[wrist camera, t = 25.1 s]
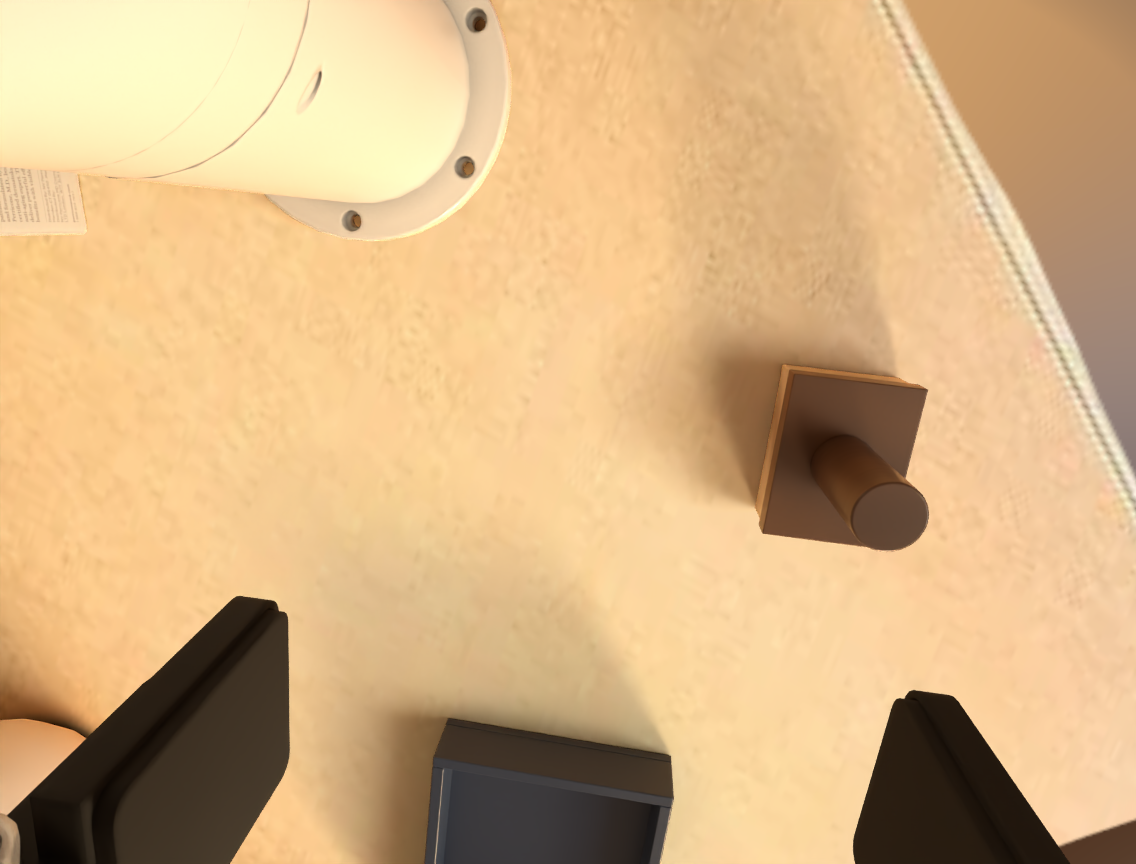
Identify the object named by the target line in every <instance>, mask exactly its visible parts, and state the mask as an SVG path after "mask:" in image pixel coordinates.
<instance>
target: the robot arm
mask: <svg viewBox="0 0 1136 864" xmlns="http://www.w3.org/2000/svg"><path fill="white" fill-rule="evenodd" d="M481 19H482V20H485V24H486V25H485V28H484V29H483V30H482V31H476V30H475V23H476V22H477V21H478V20H481ZM510 107H511V67H510V61H509V55H508V49H507V43H506V39H505V36H504V33H503V30H502V28H501V25H500V22H499V19H498V16H497V13H496V10H495V8H494V7H493V5H492V3H491V1H490V0H0V167H8V168H21V169H34V170H45V171H57V172H67V173H77V174H87V175H97V176H105V177H109V178H116V179H126V180H136V181H145V182H155V183H165V184H174V185H184V186H194V187H203V188H213V189H223V190H232V191H242V192H252V193H262V194H264V195H265V196H266V197H267V198H268V199H269V200H270V201H271V202H272V203H273V204H275V205H276V206H277V207H279V208H280V209H281V210H283V211H284V212H285V213H287V214H288V215H289V216H291V217H292V218H293V219H295V220H297V221H299V222H301V223H303V224H305V225H307V226H309V227H311V228H313V229H315V230H317V231H319V232H322V233H326V234H329V235H333V236H336V237H340V238H343V239H352V240H364V241H382V240H393V239H397V238H402V237H406V236H411V235H415V234H418V233H420V232H422V231H424V230H427V229H429V228H431V227H433V226H435V225H437V224H440V223H441V222H443V221H444V220H445V219H447V218H448V217H449V216H451V215H452V214H453V213H455V212H456V211H457V210H459V209H460V208H461V207H462V206H463V205H464V204H465V203H466V202H467V201H468V200H469V199H470V198H471V197H472V195H473V194H474V193H475V192H476V191H477V190H478V189H479V188H480V187H481V185H482V183H483V182H484V180H485V178H486V177H487V175H488V173H489V172H490V170H491V168H492V167H493V165H494V163H495V161H496V159H497V156H498V153H499V151H500V148H501V145H502V143H503V140H504V137H505V135H506V129H507V124H508V118H509V113H510ZM470 162H471V163H472V164H473V166H474V171H473V173H472V174H470V175H466V173H465V172H464V166H465V165H466V164H467V163H470ZM357 215H358V216H360V218H361V225H360V227H357V226H356V225H355V223H354V219H355V217H356V216H357ZM289 752H290V742H289V653H288V616H287V614H286V613H285V612H281V611H279V610H278V606H277V603H276V602H275V601H272V600H265V599H258V598H251V597H243V596H237V597H235V598H233V599H232V600H231V601H230V602H229V603H228V604H227V605H226V606H225V607H224V608H223V609H222V610H221V611H220V612H219V613H217V614H216V615H215V616H214V617H213V618H212V619H211V620H210V621H209V622H208V623H207V624H206V625H205V626H204V627H203V628H202V629H201V630H200V631H199V632H198V633H197V634H196V635H195V636H194V637H193V638H192V639H191V640H190V641H189V642H188V643H187V644H186V645H185V646H183V647H182V648H181V649H180V650H179V651H178V652H177V653H176V654H175V655H174V656H173V657H172V658H171V659H170V660H169V661H168V662H167V663H166V664H165V665H164V666H163V667H162V668H161V669H160V670H159V671H158V672H157V673H156V674H155V675H154V676H153V677H151V678H150V679H149V680H147V681H146V682H145V683H143V684H142V685H141V686H140V687H139V688H138V689H137V690H136V691H135V692H134V693H133V694H132V695H131V696H130V697H129V698H128V699H127V700H126V701H125V702H124V703H123V704H122V705H121V706H120V707H118V708H117V709H116V710H115V711H114V712H113V713H112V714H111V715H110V716H109V717H108V718H107V719H106V720H105V721H104V722H103V723H102V724H101V725H100V726H99V727H98V728H97V729H96V730H95V731H94V732H93V733H92V734H91V735H89V736H88V737H87V738H86V739H85V740H84V741H83V742H82V743H81V744H80V745H79V746H78V747H77V748H76V749H75V750H74V751H73V752H72V753H71V754H70V755H69V756H68V757H67V758H66V759H65V760H64V761H63V762H62V763H61V764H59V765H58V766H57V767H56V768H55V769H54V770H53V771H52V772H51V773H50V774H49V775H48V776H47V777H46V778H45V779H44V780H43V781H42V782H41V783H40V784H39V785H38V786H37V787H36V788H35V789H34V790H33V791H32V792H31V793H29V794H28V795H27V796H26V797H25V798H24V799H23V800H22V801H21V802H20V803H19V804H18V805H17V806H16V807H15V808H14V809H13V810H12V811H11V812H10V813H9V814H8V815H5V814H2V813H0V864H230V862H231V861H232V859H233V858H234V856H235V854H236V853H237V851H238V849H239V848H240V846H241V845H242V843H243V841H244V840H245V838H246V836H247V835H248V833H249V831H250V830H251V828H252V827H253V825H254V823H255V822H256V820H257V818H258V817H259V815H260V813H261V812H262V810H263V809H264V807H265V805H266V804H267V802H268V800H269V799H270V797H271V796H272V794H273V792H274V791H275V789H276V787H277V786H278V784H279V782H280V781H281V779H282V777H283V775H284V773H285V770H286V767H287V764H288V760H289ZM853 854H854V860H855V864H1070V863H1069V861H1068V860H1067V858H1066V857H1065V855H1064V854H1063V853H1062V851H1061V850H1060V848H1059V847H1058V845H1057V844H1056V842H1055V841H1054V839H1053V838H1052V837H1051V835H1050V834H1049V832H1048V831H1047V829H1046V828H1045V826H1044V825H1043V824H1042V822H1041V821H1040V819H1039V818H1038V816H1037V815H1036V813H1035V812H1034V811H1033V809H1032V808H1031V806H1030V805H1029V803H1028V802H1027V800H1026V799H1025V797H1024V796H1023V795H1022V793H1021V792H1020V790H1019V789H1018V787H1017V786H1016V784H1015V783H1014V782H1013V780H1012V779H1011V777H1010V776H1009V774H1008V773H1007V771H1006V770H1005V768H1004V767H1003V766H1002V764H1001V763H1000V761H999V760H998V758H997V757H996V755H995V754H994V753H993V751H992V750H991V748H990V747H989V745H988V744H987V742H986V741H985V740H984V738H983V737H982V735H981V734H980V732H979V731H978V729H977V728H976V726H975V725H974V724H973V722H972V721H971V719H970V718H969V716H968V715H967V713H966V712H965V711H964V709H963V708H962V706H961V705H960V703H959V702H958V701H957V700H956V699H955V698H954V697H953V696H950V695H944V694H937V693H930V692H923V691H916V690H912V691H909V692H908V694H907V695H906V697H905V699H901V698H899V699H896V700H895V702H894V703H893V706H892V709H891V712H890V716H889V719H888V722H887V726H886V729H885V733H884V736H883V739H882V743H881V746H880V750H879V753H878V756H877V760H876V763H875V767H874V770H873V773H872V777H871V780H870V784H869V787H868V790H867V794H866V797H865V801H864V804H863V807H862V811H861V814H860V818H859V821H858V824H857V828H856V831H855V835H854V840H853Z"/></svg>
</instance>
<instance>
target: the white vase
mask: <svg viewBox="0 0 1136 864" xmlns="http://www.w3.org/2000/svg"><path fill="white" fill-rule="evenodd" d="M85 739H86V738H85V737H83V736H82V735H80V734H79V733H77V732H76V731H74V730H71V729H67V728H64V727H60V726H56V725H53V724H49V723H46V722H41V721H35V720H29V719H10V720H0V813H2V814H5V815H8V814H9V813H10V812H11V811H12V810H13V809H14V808H15V807H16V806H17V805H18V804H19V803H20V802H21V801H22V800H23V799H24V798H25V797H26V796H27V795H28V794H29V793H31V792H32V791H33V790H34V789H35V788H36V787H37V786H38V785H39V784H40V783H41V782H42V781H43V780H44V779H45V778H46V777H47V776H48V775H49V774H50V773H51V772H52V771H53V770H54V769H55V768H56V767H57V766H58V765H59V764H61V763H62V762H63V761H64V760H65V759H66V758H67V757H68V756H69V755H70V754H71V753H72V752H73V751H74V750H75V749H76V748H77V747H78V746H79V745H80V744H81V743H82V742H83V741H84V740H85Z"/></svg>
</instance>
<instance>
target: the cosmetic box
mask: <svg viewBox="0 0 1136 864" xmlns="http://www.w3.org/2000/svg"><path fill="white" fill-rule="evenodd" d="M86 231H87V224H86V219H85V213H84V208H83V202H82V197H81V191H80V185H79V180H78V174H77V173H67V172H57V171H45V170H34V169H21V168H8V167H0V236H16V235H74V234H85V233H86Z"/></svg>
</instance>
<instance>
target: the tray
mask: <svg viewBox="0 0 1136 864" xmlns="http://www.w3.org/2000/svg"><path fill="white" fill-rule="evenodd" d="M673 800H674V795H673V780H672V765H671V756H669V755H663V754H657V753H651V752H645V751H639V750H633V749H628V748H622V747H616V746H610V745H604V744H598V743H592V742H586V741H580V740H574V739H568V738H562V737H556V736H551V735H545V734H539V733H533V732H527V731H521V730H515V729H509V728H503V727H497V726H491V725H485V724H479V723H474V722H468V721H462V720H456V719H450V718H449V719H448V720H447V723H446V726H445V728H444V731H443V734H442V736H441V739H440V741H439V744H438V747H437V749H436V752H435V754H434V757H433V768H432V780H431V792H430V804H429V816H428V828H427V840H426V852H425V864H660V863H661V858H662V854H663V849H664V844H665V839H666V834H667V829H668V824H669V819H670V815H671V810H672V805H673Z"/></svg>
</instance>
